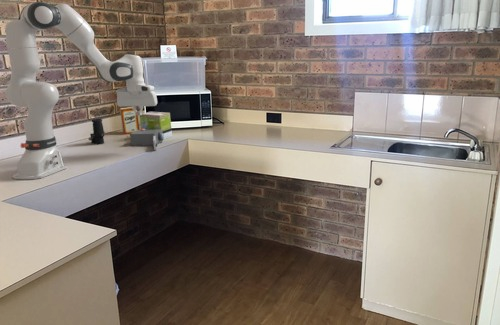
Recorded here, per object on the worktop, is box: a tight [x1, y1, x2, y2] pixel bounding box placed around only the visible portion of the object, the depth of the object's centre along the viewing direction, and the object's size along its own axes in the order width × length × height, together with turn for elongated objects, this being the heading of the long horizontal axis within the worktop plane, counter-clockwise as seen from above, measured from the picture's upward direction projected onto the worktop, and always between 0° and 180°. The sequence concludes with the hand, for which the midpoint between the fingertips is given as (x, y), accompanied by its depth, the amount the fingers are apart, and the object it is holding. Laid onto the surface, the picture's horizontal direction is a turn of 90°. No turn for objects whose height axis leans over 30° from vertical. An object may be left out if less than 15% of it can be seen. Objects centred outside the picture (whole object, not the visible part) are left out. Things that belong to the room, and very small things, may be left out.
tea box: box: [139, 111, 173, 141], centre depth 238 cm, size 15×10×15 cm, turn 63°
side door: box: [152, 136, 158, 151], centre depth 214 cm, size 2×13×5 cm, turn 12°
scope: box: [88, 118, 106, 145], centre depth 230 cm, size 8×14×10 cm
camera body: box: [129, 128, 165, 147], centre depth 226 cm, size 12×16×7 cm
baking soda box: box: [119, 106, 140, 136], centre depth 256 cm, size 10×6×16 cm
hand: (138, 115), depth 207 cm, fingers closed
